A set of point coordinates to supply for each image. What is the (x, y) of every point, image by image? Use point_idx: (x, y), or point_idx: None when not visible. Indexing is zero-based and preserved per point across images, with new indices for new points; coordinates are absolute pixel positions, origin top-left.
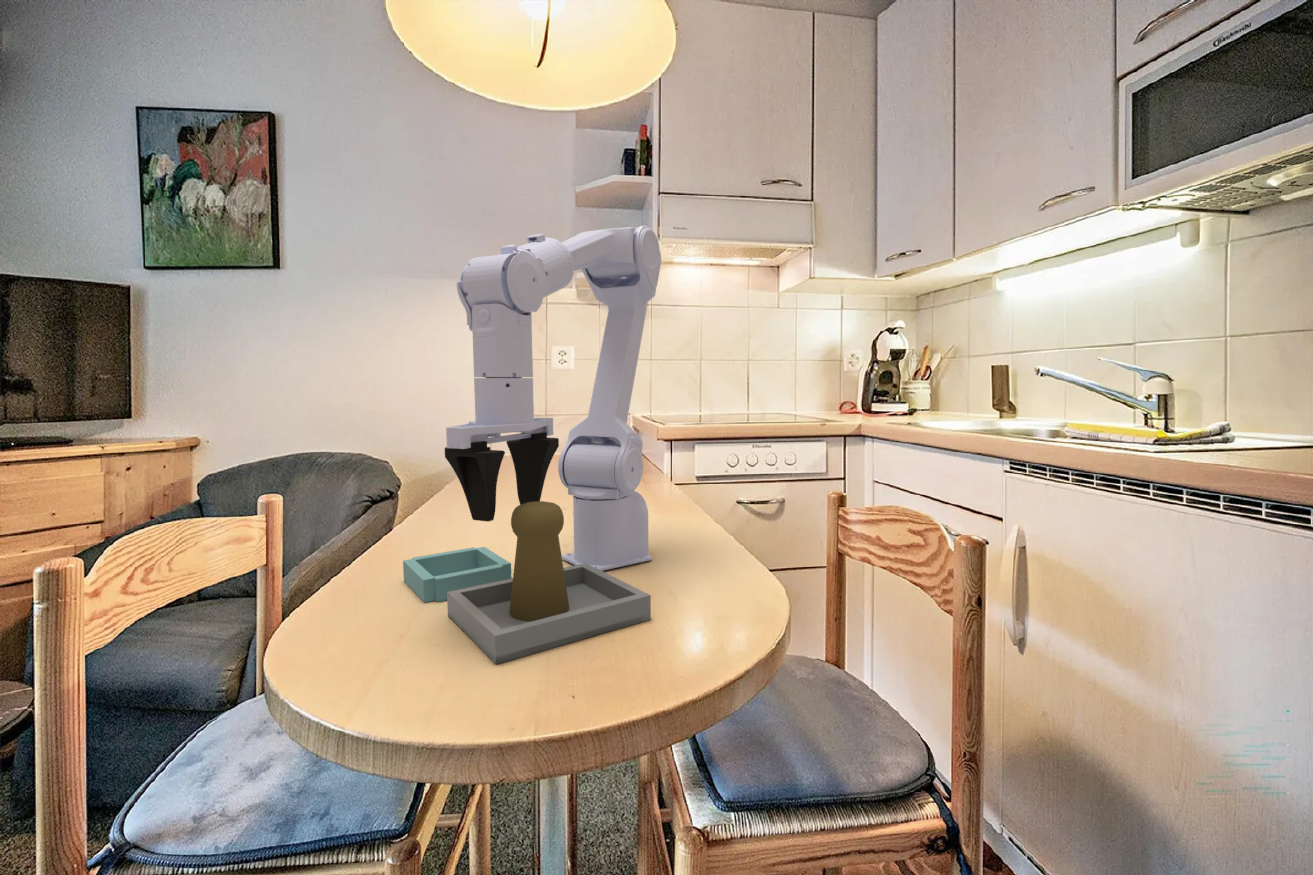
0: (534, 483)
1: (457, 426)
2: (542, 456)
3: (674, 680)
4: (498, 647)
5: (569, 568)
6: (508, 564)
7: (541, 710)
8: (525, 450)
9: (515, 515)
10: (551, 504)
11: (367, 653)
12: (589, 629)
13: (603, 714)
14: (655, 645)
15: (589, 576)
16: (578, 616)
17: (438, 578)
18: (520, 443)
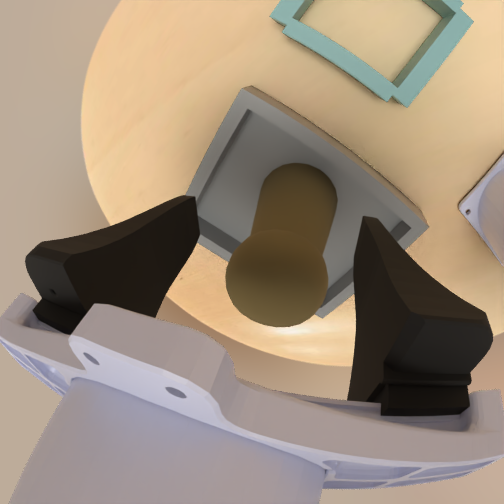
0: (358, 292)
1: (10, 345)
2: (352, 376)
3: (229, 323)
4: None
5: (401, 212)
6: (403, 104)
7: None
8: (373, 354)
9: (228, 268)
10: (279, 322)
11: (142, 87)
12: None
13: (176, 296)
14: None
15: (396, 236)
16: None
17: (287, 32)
18: (382, 365)
